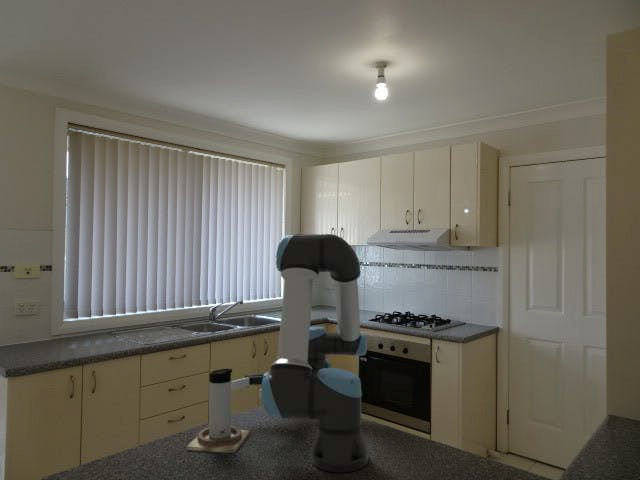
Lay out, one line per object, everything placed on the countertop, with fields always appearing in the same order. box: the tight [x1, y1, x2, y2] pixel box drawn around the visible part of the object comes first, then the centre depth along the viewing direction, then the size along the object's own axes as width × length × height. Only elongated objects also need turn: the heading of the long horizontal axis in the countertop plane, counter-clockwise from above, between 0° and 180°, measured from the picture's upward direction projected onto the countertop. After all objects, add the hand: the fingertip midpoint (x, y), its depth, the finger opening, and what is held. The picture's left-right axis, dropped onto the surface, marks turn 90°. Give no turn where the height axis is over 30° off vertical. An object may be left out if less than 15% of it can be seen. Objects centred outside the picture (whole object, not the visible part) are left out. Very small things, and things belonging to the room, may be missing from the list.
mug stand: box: [186, 425, 251, 454], centre depth 138 cm, size 14×14×2 cm
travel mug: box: [208, 368, 233, 440], centre depth 138 cm, size 6×7×20 cm
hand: (245, 390), depth 145 cm, fingers open, 13 cm apart
